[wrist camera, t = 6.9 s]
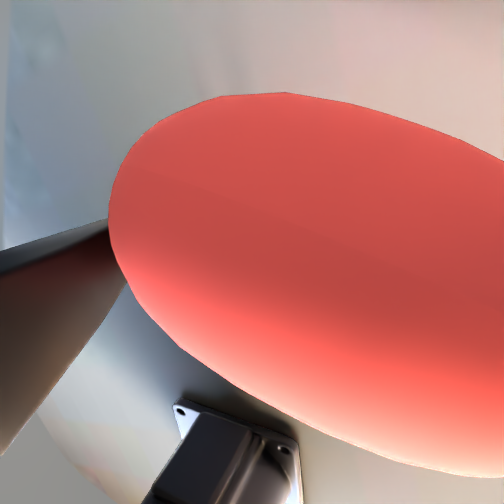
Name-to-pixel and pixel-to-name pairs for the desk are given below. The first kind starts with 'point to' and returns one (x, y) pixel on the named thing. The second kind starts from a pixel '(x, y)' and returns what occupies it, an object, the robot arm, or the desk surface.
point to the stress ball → (328, 268)
